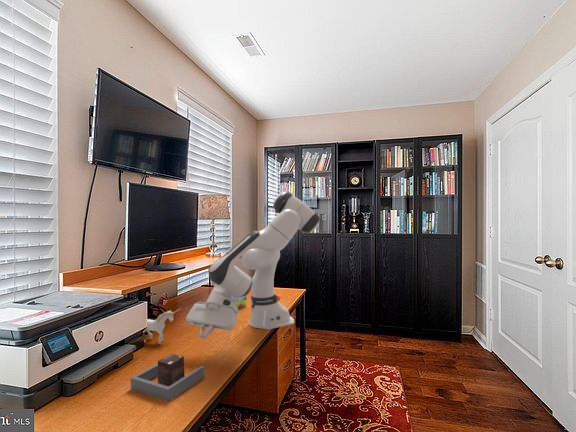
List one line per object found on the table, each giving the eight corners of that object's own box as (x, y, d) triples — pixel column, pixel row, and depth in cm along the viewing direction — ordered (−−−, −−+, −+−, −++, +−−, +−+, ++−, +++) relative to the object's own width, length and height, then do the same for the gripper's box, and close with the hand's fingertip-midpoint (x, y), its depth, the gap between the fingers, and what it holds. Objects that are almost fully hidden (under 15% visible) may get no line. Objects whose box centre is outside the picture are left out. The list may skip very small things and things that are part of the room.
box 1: (172, 374, 106) (171, 353, 106) (185, 378, 103) (184, 356, 103) (157, 383, 101) (157, 360, 101) (170, 387, 98) (170, 364, 98)
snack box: (219, 315, 169) (219, 288, 169) (212, 313, 172) (212, 286, 172) (247, 306, 186) (246, 281, 186) (240, 304, 189) (240, 280, 189)
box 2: (168, 367, 111) (168, 357, 111) (204, 376, 104) (204, 366, 104) (130, 389, 97) (130, 377, 97) (168, 401, 90) (168, 389, 90)
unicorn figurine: (177, 344, 132) (176, 312, 132) (130, 346, 130) (129, 314, 130) (182, 337, 139) (181, 307, 139) (137, 339, 138) (137, 309, 138)
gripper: (192, 297, 125) (176, 329, 117) (236, 302, 118) (222, 338, 109) (199, 304, 130) (183, 336, 121) (242, 310, 123) (229, 345, 114)
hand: (202, 337), depth 115 cm, fingers closed
